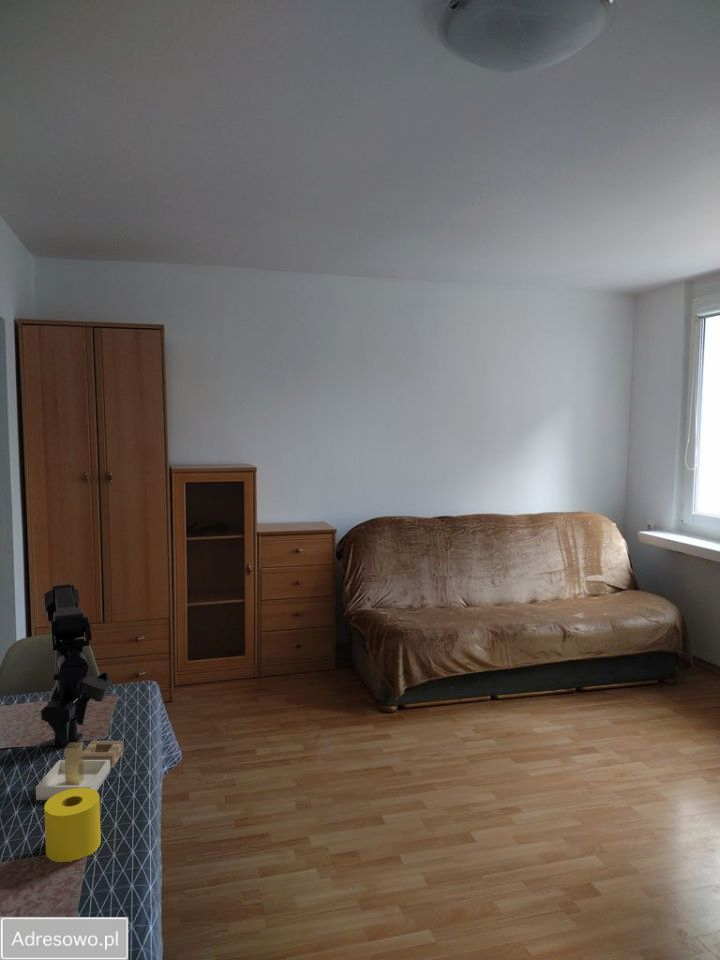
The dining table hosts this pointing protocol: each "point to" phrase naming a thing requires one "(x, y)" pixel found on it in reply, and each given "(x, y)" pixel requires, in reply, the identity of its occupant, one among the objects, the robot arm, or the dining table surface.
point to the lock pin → (74, 763)
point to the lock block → (104, 751)
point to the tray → (57, 783)
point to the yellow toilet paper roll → (72, 824)
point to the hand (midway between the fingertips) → (72, 733)
